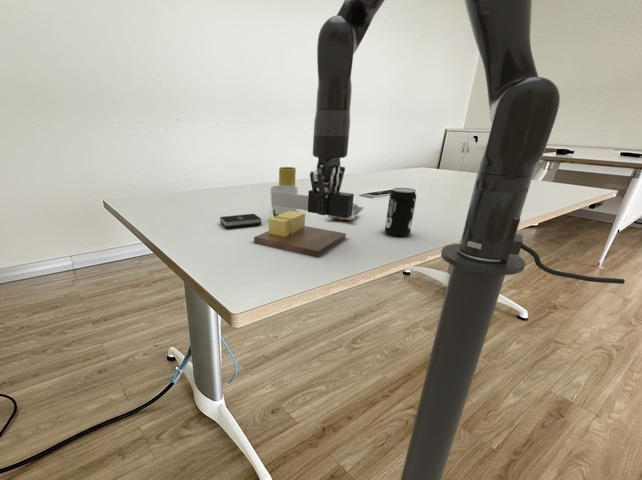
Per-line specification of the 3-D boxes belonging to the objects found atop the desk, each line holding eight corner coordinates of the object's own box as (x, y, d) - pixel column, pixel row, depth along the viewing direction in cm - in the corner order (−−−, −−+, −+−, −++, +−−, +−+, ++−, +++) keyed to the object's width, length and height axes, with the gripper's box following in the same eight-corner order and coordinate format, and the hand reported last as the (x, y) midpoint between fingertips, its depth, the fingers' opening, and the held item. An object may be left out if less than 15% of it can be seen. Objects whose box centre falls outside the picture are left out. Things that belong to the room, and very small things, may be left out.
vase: (276, 209, 119) (277, 166, 113) (294, 209, 119) (295, 166, 113) (278, 214, 113) (279, 169, 107) (296, 213, 114) (298, 169, 108)
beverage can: (405, 239, 90) (412, 192, 85) (380, 234, 94) (387, 189, 89) (412, 233, 95) (420, 189, 90) (389, 229, 98) (395, 186, 93)
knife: (351, 215, 79) (353, 193, 77) (346, 218, 77) (349, 195, 75) (275, 203, 89) (275, 184, 87) (269, 205, 87) (269, 185, 85)
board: (345, 238, 90) (346, 233, 89) (317, 257, 78) (318, 250, 77) (287, 227, 99) (287, 222, 98) (254, 242, 87) (254, 237, 86)
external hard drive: (219, 223, 103) (219, 217, 102) (254, 219, 107) (254, 213, 106) (226, 229, 97) (225, 222, 96) (262, 225, 101) (262, 219, 100)
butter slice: (289, 235, 88) (289, 219, 86) (285, 237, 86) (285, 221, 85) (272, 231, 90) (272, 216, 89) (268, 233, 89) (268, 218, 87)
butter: (304, 227, 94) (305, 213, 92) (291, 233, 89) (291, 218, 87) (289, 224, 97) (289, 210, 95) (275, 230, 91) (275, 216, 90)
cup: (266, 218, 108) (266, 186, 104) (290, 216, 111) (291, 184, 107) (275, 225, 101) (275, 190, 97) (300, 222, 104) (302, 189, 100)
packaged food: (362, 215, 112) (363, 200, 110) (353, 224, 102) (355, 208, 100) (336, 213, 115) (337, 198, 113) (325, 221, 105) (326, 205, 103)
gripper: (333, 135, 66) (327, 222, 74) (359, 133, 77) (351, 209, 84) (299, 134, 70) (296, 217, 77) (329, 132, 81) (324, 205, 88)
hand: (325, 212), depth 81 cm, fingers closed on knife, 3 cm apart
